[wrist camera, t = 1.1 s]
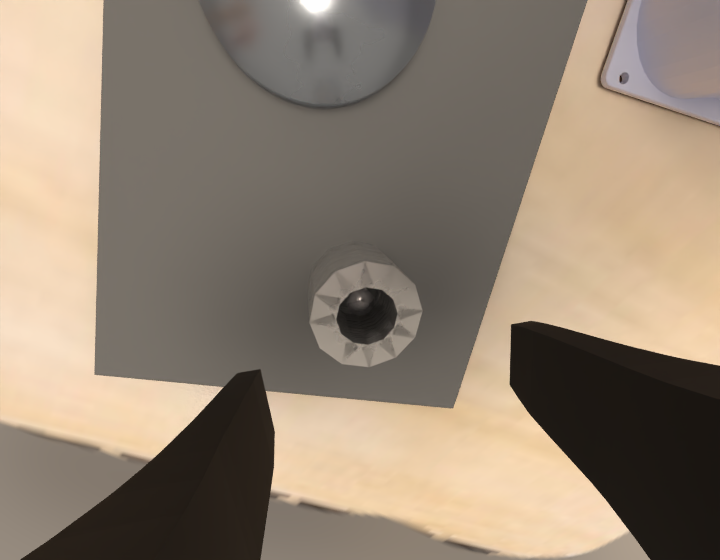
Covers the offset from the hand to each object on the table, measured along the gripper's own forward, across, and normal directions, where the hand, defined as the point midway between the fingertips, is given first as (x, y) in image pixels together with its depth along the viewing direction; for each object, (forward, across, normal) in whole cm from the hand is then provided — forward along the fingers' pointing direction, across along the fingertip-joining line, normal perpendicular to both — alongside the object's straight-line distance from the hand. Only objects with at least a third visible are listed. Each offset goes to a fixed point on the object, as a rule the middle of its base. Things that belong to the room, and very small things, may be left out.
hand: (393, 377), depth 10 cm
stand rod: (+9, 0, 0) cm, 9 cm away
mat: (+9, 0, -6) cm, 11 cm away
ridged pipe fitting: (+8, 0, 0) cm, 8 cm away
